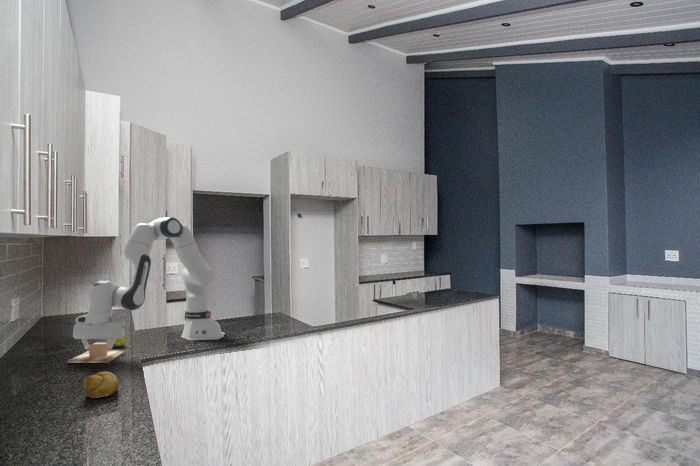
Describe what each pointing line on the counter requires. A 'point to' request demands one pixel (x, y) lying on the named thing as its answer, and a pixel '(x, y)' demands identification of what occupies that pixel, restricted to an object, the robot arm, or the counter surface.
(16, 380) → the counter surface
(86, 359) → the board
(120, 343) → the supplement box
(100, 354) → the cube
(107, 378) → the bread roll
